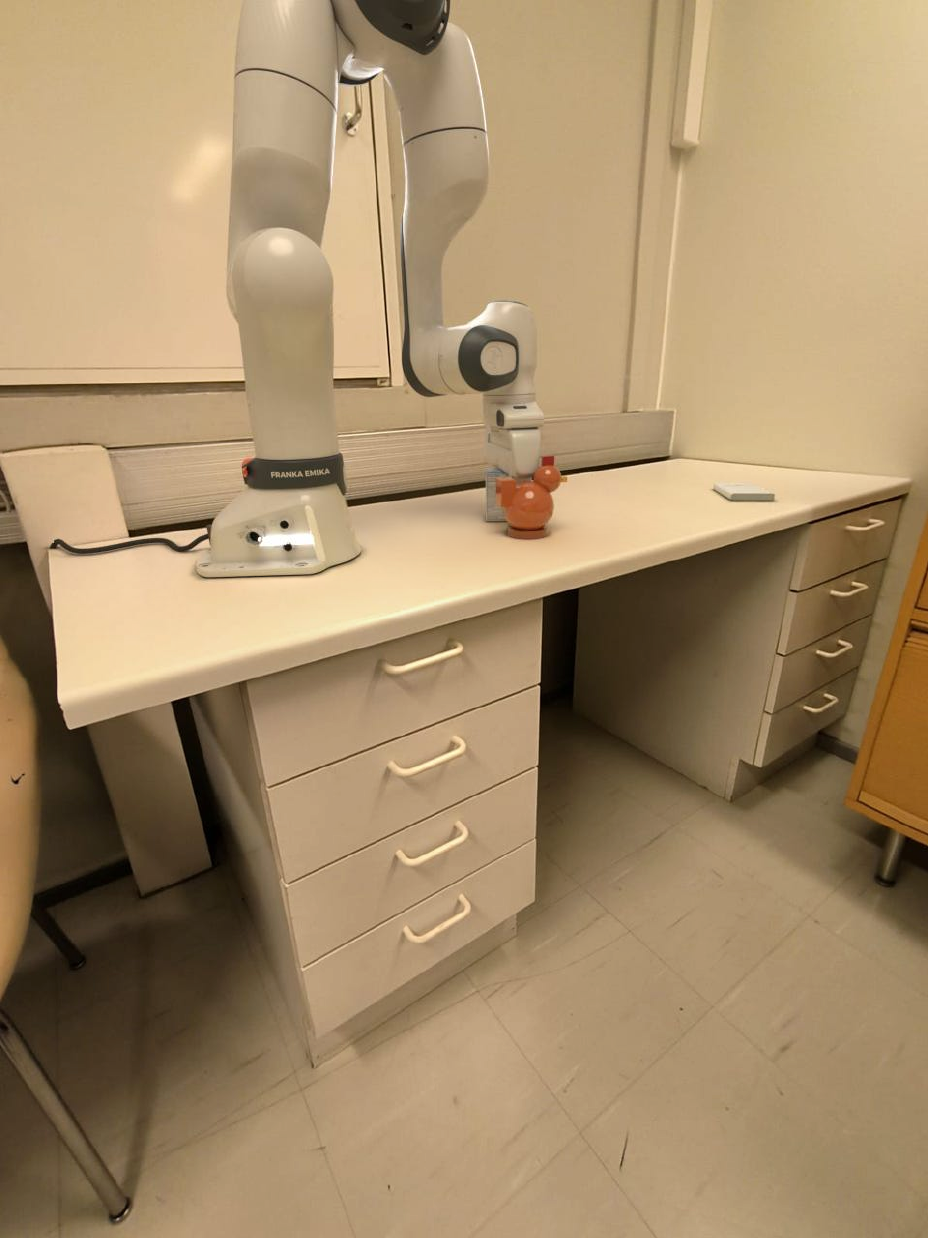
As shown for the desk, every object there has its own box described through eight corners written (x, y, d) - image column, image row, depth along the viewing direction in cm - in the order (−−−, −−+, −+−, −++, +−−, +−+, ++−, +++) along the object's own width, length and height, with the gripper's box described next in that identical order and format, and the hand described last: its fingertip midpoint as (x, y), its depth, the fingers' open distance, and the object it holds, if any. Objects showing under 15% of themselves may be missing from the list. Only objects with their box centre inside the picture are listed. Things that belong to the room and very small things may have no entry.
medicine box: (530, 516, 103) (531, 467, 99) (530, 522, 99) (531, 471, 95) (487, 516, 103) (486, 467, 100) (485, 522, 99) (485, 471, 96)
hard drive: (729, 501, 111) (712, 489, 122) (773, 501, 110) (752, 489, 121) (731, 493, 110) (713, 482, 122) (775, 493, 109) (754, 482, 120)
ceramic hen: (505, 542, 87) (506, 461, 82) (491, 530, 94) (491, 455, 89) (573, 536, 89) (577, 457, 84) (554, 525, 96) (557, 451, 91)
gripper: (475, 410, 103) (476, 487, 108) (508, 417, 84) (508, 509, 90) (509, 409, 104) (508, 485, 109) (548, 415, 85) (545, 506, 91)
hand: (508, 496), depth 99 cm, fingers closed on medicine box, 5 cm apart
